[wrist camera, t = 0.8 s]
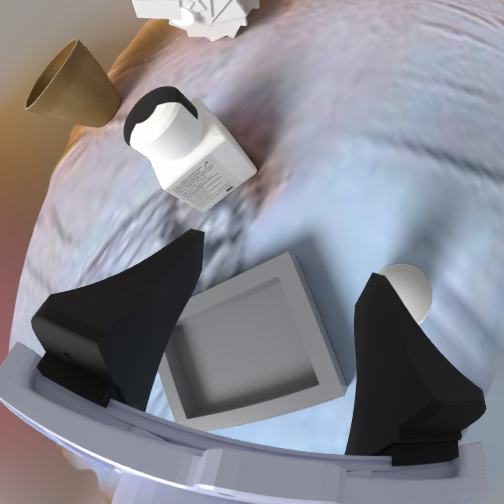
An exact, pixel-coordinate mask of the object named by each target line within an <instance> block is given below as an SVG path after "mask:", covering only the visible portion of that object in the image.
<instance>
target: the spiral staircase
mask: <svg viewBox="0 0 504 504" xmlns="http://www.w3.org/2000/svg"><path fill="white" fill-rule="evenodd" d="M132 3H133V6H134V8H135V12H136V14H137V17H138V18H158V19H170V20H169V25H172V26H175V27H178V28H181V29H184V30H186V31H187V33H188V36H189V37H207V38H208V39H209V40H210V41H212V42H213V41H215V40H218V39H220V38H222V37H224V36H229V37H231V38H234V37H235V35H236V33H237V31H238V29H239V28H240V26H247V19H246V16H247V15H248V14H249V12H250V11H251V10H252V8H255V9H259V8H260V6H259V0H132Z"/></svg>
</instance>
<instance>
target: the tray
mask: <svg viewBox="0 0 504 504" xmlns="http://www.w3.org/2000/svg"><path fill="white" fill-rule="evenodd" d="M158 372H159V375H160V378H161V381H162V384H163V387H164V390H165V393H166V396H167V399H168V402H169V405H170V408H171V411H172V414H173V416H174V419H175V422H176V423H177V424H180V425H184V426H187V427H190V428H194V429H197V430H200V431H211V430H216V429H222V428H227V427H233V426H238V425H242V424H247V423H252V422H256V421H260V420H264V419H269V418H273V417H276V416H280V415H284V414H288V413H291V412H295V411H298V410H302V409H305V408H308V407H312V406H315V405H318V404H321V403H324V402H327V401H330V400H333V399H336V398H339V397H342V396H345V393H346V391H347V388H348V386H347V383H346V381H345V378H344V375H343V372H342V370H341V367H340V364H339V362H338V359H337V356H336V354H335V351H334V348H333V346H332V343H331V341H330V338H329V335H328V333H327V330H326V328H325V325H324V323H323V320H322V317H321V315H320V312H319V310H318V307H317V305H316V302H315V300H314V297H313V295H312V292H311V290H310V287H309V285H308V283H307V280H306V278H305V275H304V273H303V270H302V268H301V266H300V263H299V261H298V258H297V257H296V256H294V255H293V254H292V253H290V252H289V251H287V252H285V253H283V254H281V255H279V256H277V257H275V258H273V259H271V260H269V261H267V262H265V263H262V264H260V265H258V266H256V267H254V268H252V269H250V270H248V271H246V272H244V273H242V274H239V275H237V276H235V277H233V278H231V279H229V280H227V281H225V282H223V283H221V284H218V285H216V286H214V287H212V288H210V289H208V290H206V291H204V292H201V293H199V294H197V295H195V296H193V297H191V298H190V299H189V301H188V302H187V304H186V306H185V308H184V310H183V312H182V314H181V316H180V318H179V319H178V321H177V323H176V325H175V327H174V329H173V331H172V333H171V336H170V338H169V340H168V343H167V346H166V348H165V351H164V354H163V357H162V359H161V362H160V365H159V368H158Z"/></svg>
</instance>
